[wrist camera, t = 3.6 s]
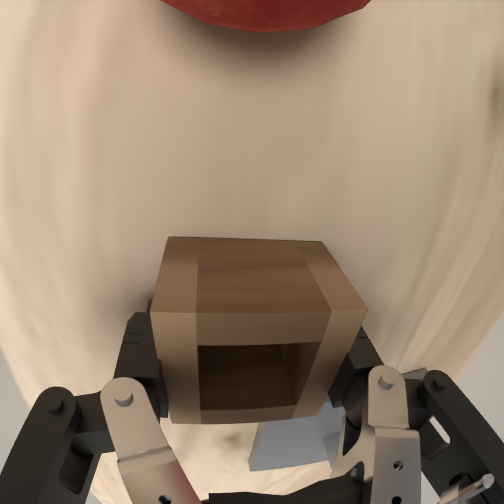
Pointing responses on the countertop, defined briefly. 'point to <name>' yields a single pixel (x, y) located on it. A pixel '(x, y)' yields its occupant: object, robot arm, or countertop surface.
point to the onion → (267, 12)
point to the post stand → (302, 438)
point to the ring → (251, 328)
